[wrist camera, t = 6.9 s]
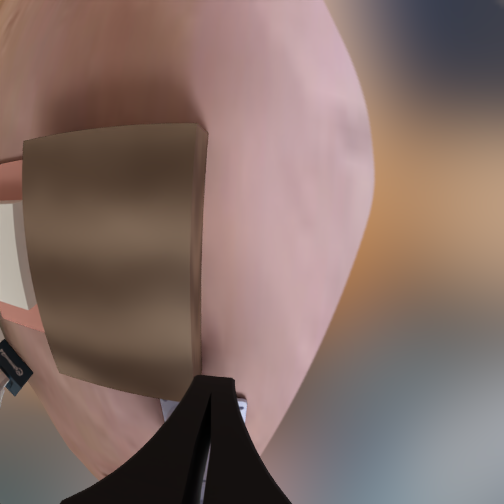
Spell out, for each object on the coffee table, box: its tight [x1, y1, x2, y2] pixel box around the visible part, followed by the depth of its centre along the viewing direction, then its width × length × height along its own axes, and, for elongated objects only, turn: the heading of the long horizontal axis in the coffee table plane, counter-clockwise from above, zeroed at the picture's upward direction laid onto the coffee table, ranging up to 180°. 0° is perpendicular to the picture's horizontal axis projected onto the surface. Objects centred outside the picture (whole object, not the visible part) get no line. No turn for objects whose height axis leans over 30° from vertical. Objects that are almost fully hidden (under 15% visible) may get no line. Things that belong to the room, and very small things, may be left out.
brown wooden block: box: [22, 123, 208, 402], centre depth 17 cm, size 18×12×4 cm, turn 175°
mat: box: [0, 160, 45, 332], centre depth 18 cm, size 16×11×1 cm
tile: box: [0, 200, 37, 310], centre depth 17 cm, size 9×6×2 cm, turn 175°
